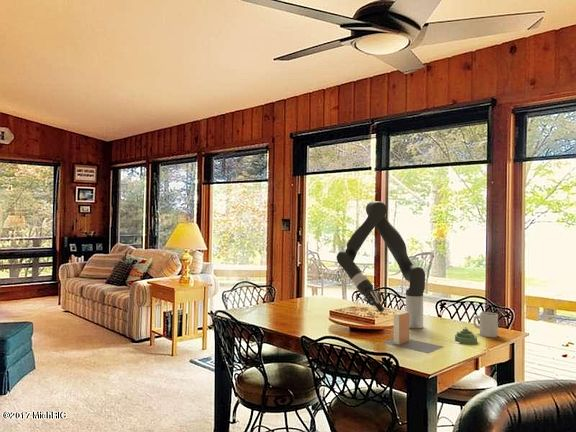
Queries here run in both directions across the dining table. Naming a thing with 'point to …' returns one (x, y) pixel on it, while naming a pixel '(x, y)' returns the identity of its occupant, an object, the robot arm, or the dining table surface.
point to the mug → (487, 324)
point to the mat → (416, 345)
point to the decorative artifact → (466, 337)
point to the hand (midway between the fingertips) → (382, 310)
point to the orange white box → (401, 327)
